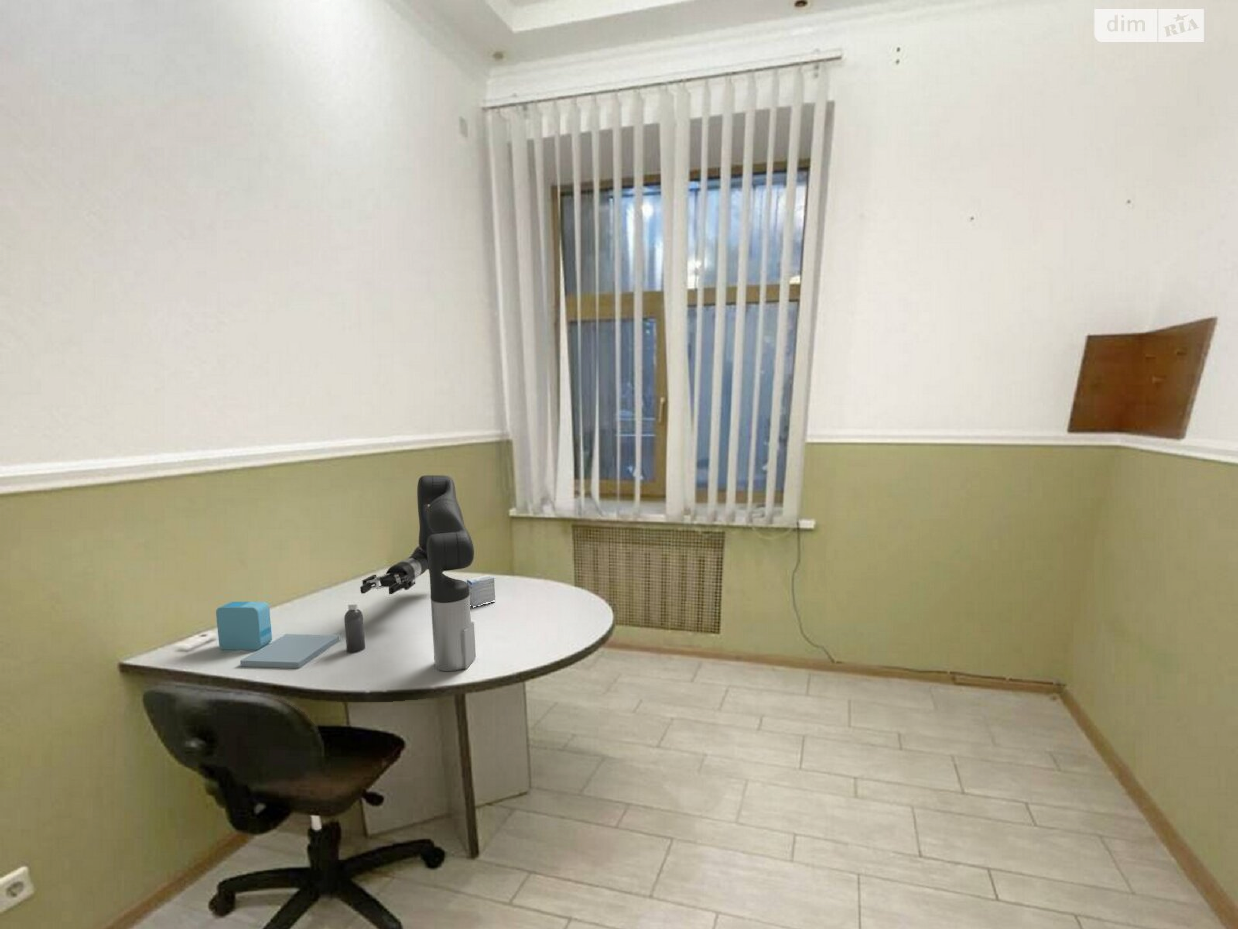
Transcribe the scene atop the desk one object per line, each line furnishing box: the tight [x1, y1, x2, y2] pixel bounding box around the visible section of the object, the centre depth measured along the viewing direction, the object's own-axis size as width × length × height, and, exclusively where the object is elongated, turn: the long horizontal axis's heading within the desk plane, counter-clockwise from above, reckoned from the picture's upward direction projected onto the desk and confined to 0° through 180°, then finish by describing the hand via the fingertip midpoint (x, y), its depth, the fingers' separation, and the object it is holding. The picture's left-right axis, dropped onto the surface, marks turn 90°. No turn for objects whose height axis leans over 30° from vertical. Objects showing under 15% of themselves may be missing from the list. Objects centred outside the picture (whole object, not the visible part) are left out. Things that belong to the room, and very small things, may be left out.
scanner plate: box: [239, 633, 340, 669], centre depth 141 cm, size 16×16×2 cm
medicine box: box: [466, 574, 496, 607], centre depth 174 cm, size 8×4×9 cm, turn 130°
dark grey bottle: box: [343, 603, 366, 654], centre depth 142 cm, size 4×4×12 cm
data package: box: [215, 601, 273, 651], centre depth 145 cm, size 12×4×12 cm, turn 86°
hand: (375, 590), depth 152 cm, fingers open, 8 cm apart
